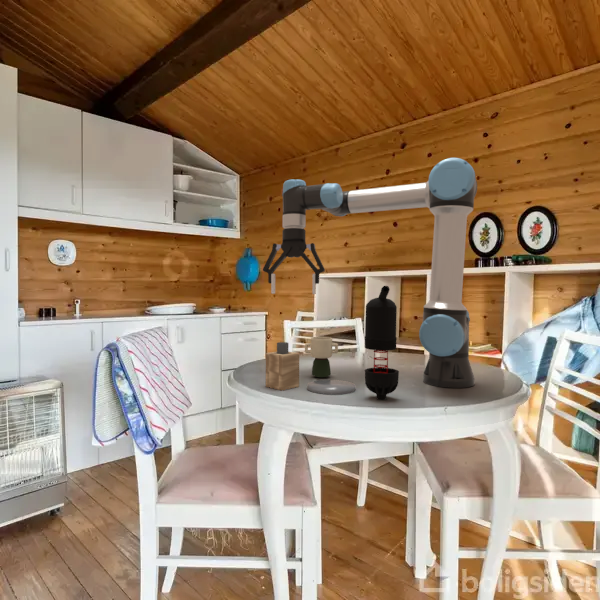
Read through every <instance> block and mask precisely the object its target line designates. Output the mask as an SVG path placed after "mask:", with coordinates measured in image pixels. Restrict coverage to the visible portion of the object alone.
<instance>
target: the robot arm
mask: <svg viewBox="0 0 600 600" xmlns="http://www.w3.org/2000/svg"><path fill="white" fill-rule="evenodd" d="M282 185H283V186H282V194H281V197H282V228H283V229H282V239H281V240H282V243H281V244H280V243H279V244H278V243H273V244H272V247H271V248H272V250H271V252H270V254H269V256H268V258H267V260H266V262H265V264H264V265H263V267H262V271H263V272H264V273H267V274H268V276H267V277H268V279H267V282H268V284H271V285H270V286H271V288H270V291H271V292H270V293H271V294H274V295H275V294H276V273H275V271H276V270H277V269H278V267H279V266H280V265H282V263H283V262H284V261H285V259H286V258H287V257H288V258H289V259H290V258H291V259H292V258H300V257H301V258H302V259H303V260H304V261H305V263H307V265H308V267H310V269H311V270H312V271H313V273H312V290H311V291H312V295H317V284H319V283H320V274H321V273H322V274H323V273H324V272H325V271H326V269H325V267H324V264H323V262H322V261H321V259H320V256H319V255H318V253H317V251H316V249H317V248H316V244H315V243H314V242H311V243H308V244H307V243H306V230H305V228H306V222H307V221H306V218H307V217H306V214H307V213H306V211H308V210H309V211H310V210H323V211H324V212H327V213H329V214H331V215H333V216H335V217H344V216H346V215H349V214H358V213H359V214H360V213H372V212H384V211H396V210H406V209H407V210H409V209H418V208H419V209H421V208H428V209H429V212H430V213H431V214H432V215H433V216H434V221H433V222H434V225H433V237H432V240H433V241H432V242H433V243H432V253H431V254H432V255H431V270H430V271H431V273H430V287H429V289H430V290H429V301H428V302H426V303H425V304H424V305H423V310H422V323H421V325H420V328H419V332H418V335H419V341H420V344H421V346H422V347H423V348H424V349H425V351H427V352H428V353H429V355H428V360H427V362H426V365H425V368H424V372H423V375H422V382H423V383H424V384H426V385H430V386H433V387H434V386H435V387H441V388H453V389H455V388H457V389H459V388H469V387H470V388H471V387H474V386H475V376H474V375H475V374H474V372H473V369H472V366H471V361H470V360H469V358H470V355H469V354H470V353H469V352H470V351H469V348H470V343H469V342H470V321H471V319H470V318H471V317H470V313H469V310H468V309H467V307H466V306H465V305H464V304H463V303H462V300H463V299H462V298H463V283H464V270H465V269H464V268H465V255H466V254H465V253H466V236H467V235H466V234H467V225H468V224H467V223H468V222H467V221H468V216H469V215H470V214H471V213H472V212H473V211H474V207H475V204H474V203H475V197H476V195H477V192H478V181H477V179H476V172H475V170H474V168H473V166H472V165H471V164H470V163H469V162H468V161H467V160H465V159H464V158H463V159H462V158H460V157H448V158H446V159H443V160H440V161H439V162H437V164H435V165H434V166H433V168H432V169H431V171H430V173H429V175H428V180H427V181H426V182H420V183H418V182H417V183H410V184H400V185H390V186H382V187H381V186H380V187H372V188H365V189H364V188H362V189H353V190H346V191H343V189H342V187H341V184H339V183H336V182H335V183H333V182H332V183H330V182H328V183H322V184H321V183H320V184H313V185H311V184H310V185H307V182H306V181H305V180H302V179H294V178H293V179H288V180H285V181H284V183H283V184H282ZM280 249H281V250H282V251H283V252H282V253H281V254H280V256H279V257H278V259H277V260H276V261H275V262H274V263H273V261H274V259H275V257H276V255H277V253H278V252H279V251H280ZM307 249H308V250H309V251H310V252H311V253H312V256H313V258H314V260H315V262H316V263H317V266H316V265H315V263H313V262H312V261H311V259H310V258H309V257H308V255H307V254H306V253H305V252H306V250H307ZM272 264H273V265H272ZM318 268H319V269H318Z"/></svg>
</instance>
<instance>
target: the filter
mask: <svg viewBox="0 0 600 600" xmlns="http://www.w3.org/2000/svg"><path fill="white" fill-rule="evenodd" d="M389 292H390V287H389V286H388V285H383V286H382V287H381V289H380V293H379V296H378V297H375V298H372V299H370V300H369V301H368V302H367V303H366V305H365V326H364V327H365V328H364V329H365V330H364V331H365V332H364V349H366V350H371V351H373V367H369V368H366V369H364V384H365V386H366V388H367V389H368V390H369V391H370V392H372V393H374V394H376V399H377V400H378V401H379V400H380V401H384V400H386V399H387V395H389V394H391V393H393V392H395V390H396V389H397V387H398V386H399V377H400V376H399V375H400V371H399V370H398V369H395V368H389V357H388V356H389V351H395V350H396V349H397V341H398V340H397V339H398V338H397V314H398V313H397V308H398V306H397V304H396V303H395V302H394V301H393V300H392V299H389V298H387V297H388V295H389V294H390V293H389ZM375 353H378V354H385V353H386V357H383V356H379V357H376V354H375ZM375 361H386V364H376V362H375Z"/></svg>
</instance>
